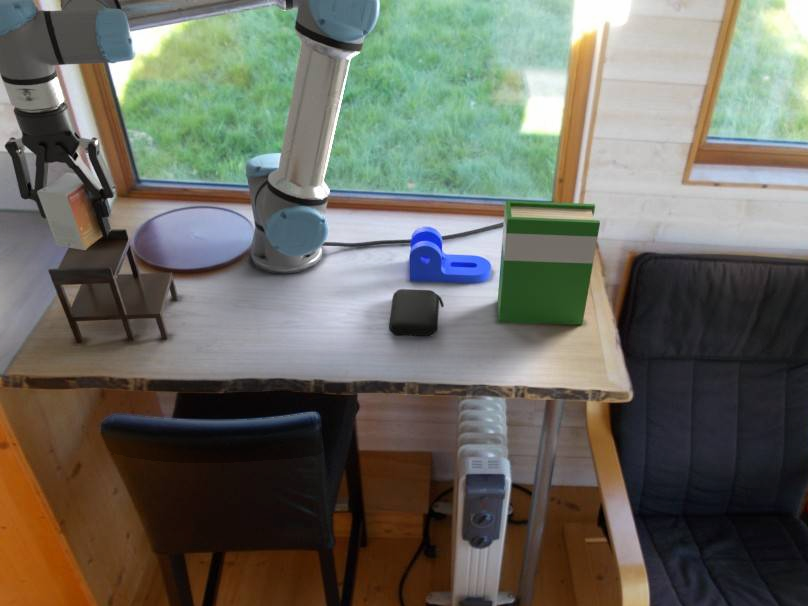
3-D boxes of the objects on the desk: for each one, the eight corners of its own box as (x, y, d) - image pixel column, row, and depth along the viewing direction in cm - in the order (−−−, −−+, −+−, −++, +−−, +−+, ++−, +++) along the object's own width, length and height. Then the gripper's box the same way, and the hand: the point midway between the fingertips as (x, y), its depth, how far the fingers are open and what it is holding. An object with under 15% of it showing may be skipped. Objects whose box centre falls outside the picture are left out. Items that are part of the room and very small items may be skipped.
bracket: (409, 280, 163) (409, 245, 157) (411, 260, 169) (411, 225, 163) (491, 283, 165) (493, 248, 159) (489, 263, 171) (492, 229, 165)
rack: (178, 297, 152) (160, 228, 141) (167, 339, 142) (146, 267, 131) (94, 300, 149) (69, 230, 138) (76, 343, 139) (48, 270, 128)
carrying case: (442, 341, 148) (443, 299, 159) (442, 329, 146) (444, 287, 157) (388, 339, 147) (393, 297, 158) (387, 327, 145) (393, 285, 156)
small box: (85, 251, 129) (66, 196, 122) (55, 246, 130) (35, 191, 123) (112, 230, 135) (95, 176, 128) (84, 225, 136) (66, 171, 129)
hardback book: (578, 304, 161) (594, 204, 145) (582, 324, 156) (600, 222, 140) (497, 301, 159) (505, 200, 144) (499, 322, 154) (507, 219, 138)
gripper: (-40, 113, 112) (14, 244, 127) (102, 114, 116) (139, 242, 131) (-23, 95, 118) (27, 223, 133) (112, 96, 122) (147, 221, 137)
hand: (83, 232), depth 132 cm, fingers closed on small box, 7 cm apart
